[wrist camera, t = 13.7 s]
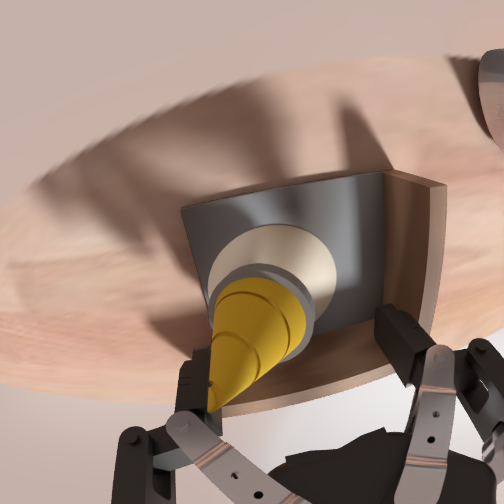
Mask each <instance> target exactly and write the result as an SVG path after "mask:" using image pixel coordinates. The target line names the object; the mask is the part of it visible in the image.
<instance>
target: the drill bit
mask: <svg viewBox="0 0 504 504" xmlns="http://www.w3.org/2000/svg"><path fill="white" fill-rule="evenodd" d="M208 318H209V322H210V325H211V328H212V330H213V334H212V347H211V360H210V374H209V382H210V384H212V386H211V387H209V389H208V407H207V412H208V413H212V412H215V411H216V410H218V409H219V408H220V407H222V406H223V405H225V404H226V403H227V402H229V401H230V400H231V399H233V398H234V397H235V396H237V395H238V394H239V393H241V392H242V391H243V390H245V389H246V388H247V387H249V386H250V385H251V384H252V383H254V382H255V381H256V380H258V379H259V378H260V377H261V376H263V375H264V374H265V373H266V372H268V371H269V370H270V369H271V368H273V367H274V366H275V365H276V364H277V363H282V362H284V361H287V360H290V359H292V358H293V357H295V356H297V355H298V354H299V353H300V352H301V351H303V350H304V348H305V347H306V346H307V344H308V343H309V341H310V338H311V336H312V333H313V327H314V321H315V306H314V302H313V299H312V296H311V294H310V293H309V291H308V289H307V288H306V286H305V285H304V284H303V283H302V282H301V281H300V279H298V278H297V277H296V276H295V275H293V274H292V273H291V272H289V271H287V270H285V269H283V268H281V267H278V266H274V265H271V264H263V263H256V264H248V265H244V266H241V267H239V268H237V269H235V270H233V271H231V272H230V273H229V274H228V275H227V276H226V277H225V278H224V279H223V280H222V281H221V282H220V283H219V284H218V285H217V286H216V288H215V289H214V290H213V292H212V294H211V297H210V299H209V305H208Z"/></svg>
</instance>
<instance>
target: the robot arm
mask: <svg viewBox="0 0 504 504" xmlns="http://www.w3.org/2000/svg"><path fill="white" fill-rule="evenodd" d="M478 85H479V95H480V100H481V106H482V110H483V113H484V117H485V121H486V123H487V126H488V129H489V131H490V133H491V135H492V137H493V139H494V141H495V143H496V144H497V146H498V147H499V149H500V150H501V151H503V152H504V49H496V50H490V51H487V52H486V53H485V54H484V55H483V56H482V59H481V61H480V65H479V71H478ZM374 337H375V340H376V342H377V344H378V345H379V347H380V349H381V350H382V352H383V353H384V355H385V356H386V358H387V359H388V361H389V362H390V364H391V365H392V367H393V369H394V370H395V372H396V373H397V375H398V376H399V378H400V380H401V381H402V383H403V385H404V386H405V388H407V387H409V386H411V385H414V386H415V388H416V389H415V392H414V396H413V401H412V405H411V410H410V414H409V418H408V422H407V425H406V428H405V431H404V433H402V432H386V430H385V428H384V427H383V428H380V429H378V430H375V431H373V432H370V433H367V434H364V435H361V436H360V437H358V438H357V439H355V440H353V441H351V442H350V443H348V444H346V445H344V446H343V447H341V448H339V449H333V450H315V451H307V452H303V453H299V454H294V455H290V456H286V457H285V459H286V463H283V464H281V465H279V466H278V467H276V468H274V469H273V470H272V471H270V472H269V473H268V474H266V473H264V472H263V471H262V470H261V469H259V468H258V467H257V466H256V465H254V464H253V463H252V462H251V461H249V460H248V459H247V458H246V457H244V456H243V455H242V454H241V453H240V452H238V451H237V450H236V449H235V448H234V447H233V446H231V445H230V444H229V443H227V442H226V443H225V442H224V441H222V440H221V439H220V438H219V437H218V436H222V435H223V432H222V407H220V408H219V409H218V410H216V411H215V412H212V413H208V412H207V407H208V389H209V387H211V386H212V384H210V382H209V374H210V360H211V348H210V347H209V346H208V347H202V348H196V349H194V350H193V357H192V360H188V361H185V362H184V363H183V365H182V367H181V368H180V372H179V380H178V387H177V396H176V404H175V412H174V414H173V415H172V416H171V417H170V418H169V419H168V420H167V422H166V424H165V425H164V426H161V427H159V428H156V429H153V430H150V431H146V430H145V429H144V428H142V427H138V426H134V427H130V428H128V429H126V430H125V431H123V432H122V434H121V436H120V438H119V442H118V449H117V457H116V463H115V471H114V480H113V490H112V500H111V504H176V486H175V485H176V484H175V469H178V468H181V467H184V466H187V465H190V464H193V463H194V464H195V465H196V466H197V467H198V468H199V469H200V470H201V471H202V472H203V473H204V474H205V475H206V476H207V477H208V478H209V480H210V481H212V483H214V484H215V485H216V486H217V487H218V488H219V489H220V490H221V491H222V492H223V493H224V494H225V495H226V496H227V497H228V498H229V499H231V500H232V501H233V502H234V503H235V504H496V487H497V484H499V483H500V482H502V481H503V480H504V358H503V357H502V356H501V355H500V353H499V352H498V351H497V350H496V349H495V348H494V346H493V345H492V344H491V343H490V342H489V341H487V340H486V339H482V338H476V339H473V340H472V341H471V342H470V343H469V346H468V348H467V349H462V350H456V351H452V349H451V348H449V347H448V346H445V345H437V344H436V343H435V342H434V340H433V339H432V338H431V337H430V336H429V335H428V334H427V332H426V331H425V330H424V329H423V328H422V327H421V325H420V324H419V323H418V322H416V320H415V319H414V318H413V316H412V315H411V314H409V313H407V312H405V311H404V310H399V311H398V310H397V309H396V308H395V306H394V305H393V304H392V303H388V304H385V305H381V306H378V307H376V309H375V321H374ZM480 380H481V381H482V382H483V383H482V382H481V381H480ZM483 384H484V385H485V386H486V388H487V389H488V391H487V389H486V388H485V386H484V385H483ZM456 396H457V397H458V399H459V400H460V402H461V404H462V406H463V407H464V409H465V411H466V412H467V414H468V416H469V417H470V419H471V421H472V422H473V424H474V426H475V428H476V430H477V431H478V433H479V435H480V437H481V439H482V440H483V442H484V444H483V447H482V460H483V461H480V460H477V459H474V458H471V457H468V456H465V455H462V454H459V453H457V452H454V451H451V450H449V445H450V439H451V433H452V426H453V419H454V410H455V401H456Z"/></svg>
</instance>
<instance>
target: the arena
mask: <svg viewBox="0 0 504 504" xmlns="http://www.w3.org/2000/svg"><path fill="white" fill-rule="evenodd" d="M181 214H182V217H183V221H184V225H185V229H186V232H187V236H188V240H189V243H190V247H191V250H192V254H193V257H194V261H195V264H196V268H197V271H198V274H199V278H200V281H201V284H202V288H203V291H204V294H205V298H206V301H207V304H208V305H209V299H210V297H211V294H212V292H213V290H214V289H215V288H216V286H217V285H218V284H219V283H220V282H221V281H222V280H223V279H224V278H225V277H226V276H227V275H228V274H229V273H230V272H231V271H233V270H235V269H237V268H239V267H241V266H244V265H248V264H256V263H263V264H271V265H274V266H278V267H281V268H283V269H285V270H287V271H289V272H291V273H292V274H293V275H295V276H296V277H297V278H298V279H300V281H301V282H302V283H303V284H304V285H305V286H306V288H307V289H308V291H309V293H310V294H311V296H312V299H313V302H314V306H315V321H314V327H313V333H312V336H311V338H310V341H309V343H308V344H307V346H306V347H305V348H304V350H303V351H301V352H300V353H299V354H298V355H297V356H295V357H293V358H292V359H290V360H287V361H284V362H282V363H277V364H276V365H275V366H274V367H273V368H271V369H270V370H269V371H268V372H266V373H265V374H264V375H263V376H261V377H260V378H259V379H258V380H256V381H255V382H254V383H252V384H251V385H250V386H249V387H247V388H246V389H245V390H243V391H242V392H241V393H239V394H238V395H237V396H235V397H234V398H233V399H231V400H230V401H229V402H227V403H226V404H225V405H223V406H222V418H225V417H232V416H238V415H245V414H250V413H256V412H261V411H267V410H272V409H277V408H281V407H286V406H290V405H294V404H299V403H302V402H307V401H310V400H314V399H318V398H322V397H325V396H329V395H332V394H336V393H339V392H342V391H345V390H349V389H352V388H355V387H358V386H361V385H364V384H367V383H369V382H372V381H375V380H378V379H380V378H383V377H385V376H388V375H391V374H393V373H396V372H395V370H394V369H393V367H392V365H391V364H390V362H389V361H388V359H387V358H386V356H385V355H384V353H383V352H382V350H381V349H380V347H379V345H378V344H377V342H376V340H375V337H374V321H375V309H376V307H378V306H381V305H385V304H388V303H392V304H393V305H394V306H395V308H396V309H397V310H398V311H399V310H404V311H405V312H407V313H409V314H411V315H412V316H413V318H414V319H415V320H416V322H418V323H419V324H420V325H421V327H422V328H423V329H424V330H425V331H426V332H427V334H428V335H430V331H431V327H432V322H433V318H434V313H435V308H436V302H437V297H438V291H439V285H440V278H441V271H442V263H443V254H444V244H445V232H446V214H447V185H445V184H442V183H439V182H436V181H433V180H429V179H426V178H423V177H419V176H416V175H412V174H409V173H405V172H402V171H398V170H387V171H379V172H372V173H364V174H357V175H350V176H343V177H337V178H330V179H324V180H318V181H312V182H306V183H300V184H294V185H288V186H283V187H278V188H272V189H267V190H262V191H257V192H252V193H247V194H242V195H237V196H232V197H228V198H223V199H218V200H214V201H209V202H205V203H200V204H196V205H192V206H188V207H183V208H181Z"/></svg>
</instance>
